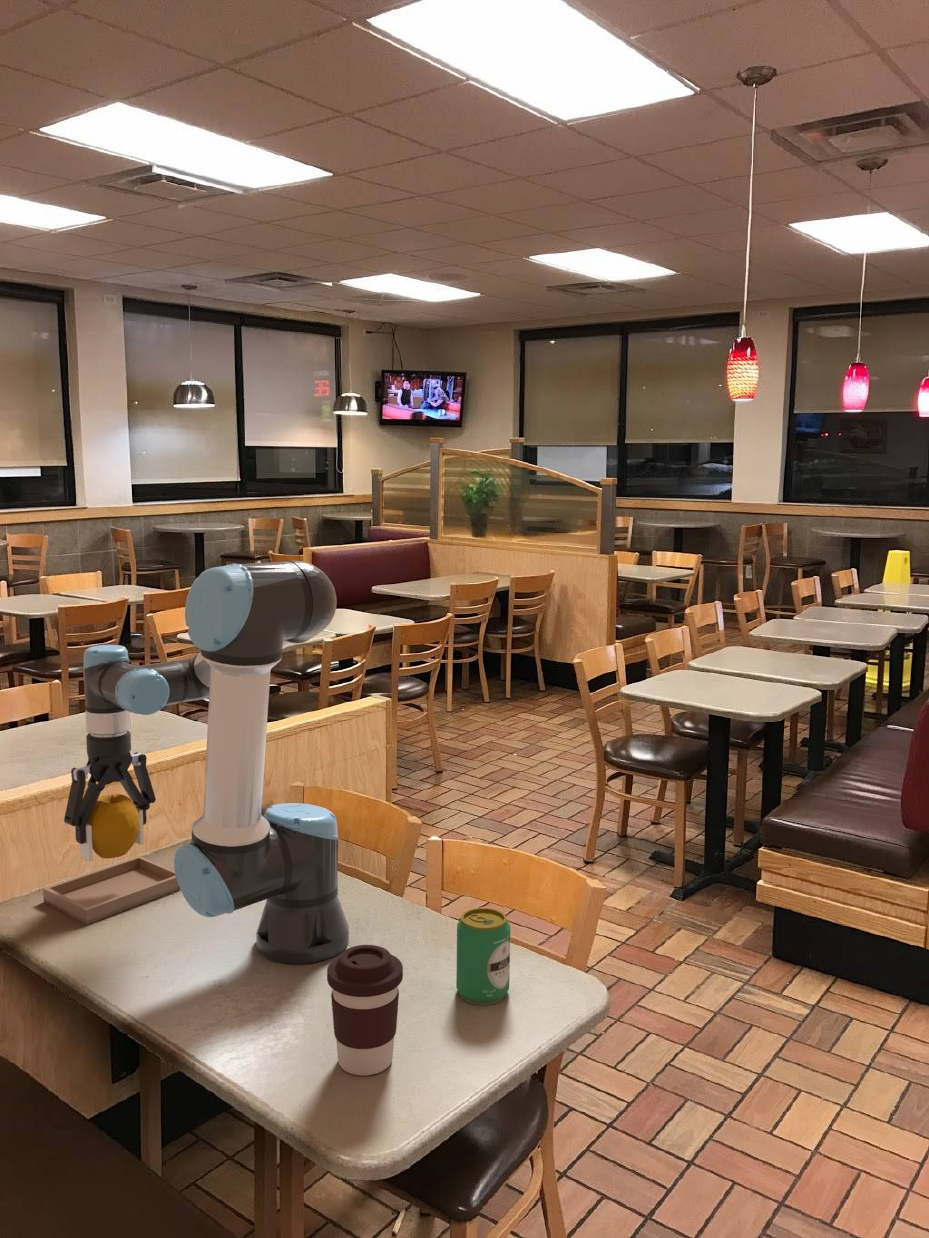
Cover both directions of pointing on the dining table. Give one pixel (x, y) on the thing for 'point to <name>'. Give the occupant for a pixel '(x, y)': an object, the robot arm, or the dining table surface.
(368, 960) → the coffee cup
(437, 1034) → the dining table surface
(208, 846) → the robot arm
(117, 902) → the tray
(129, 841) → the apple
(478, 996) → the beverage can
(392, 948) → the dining table surface
